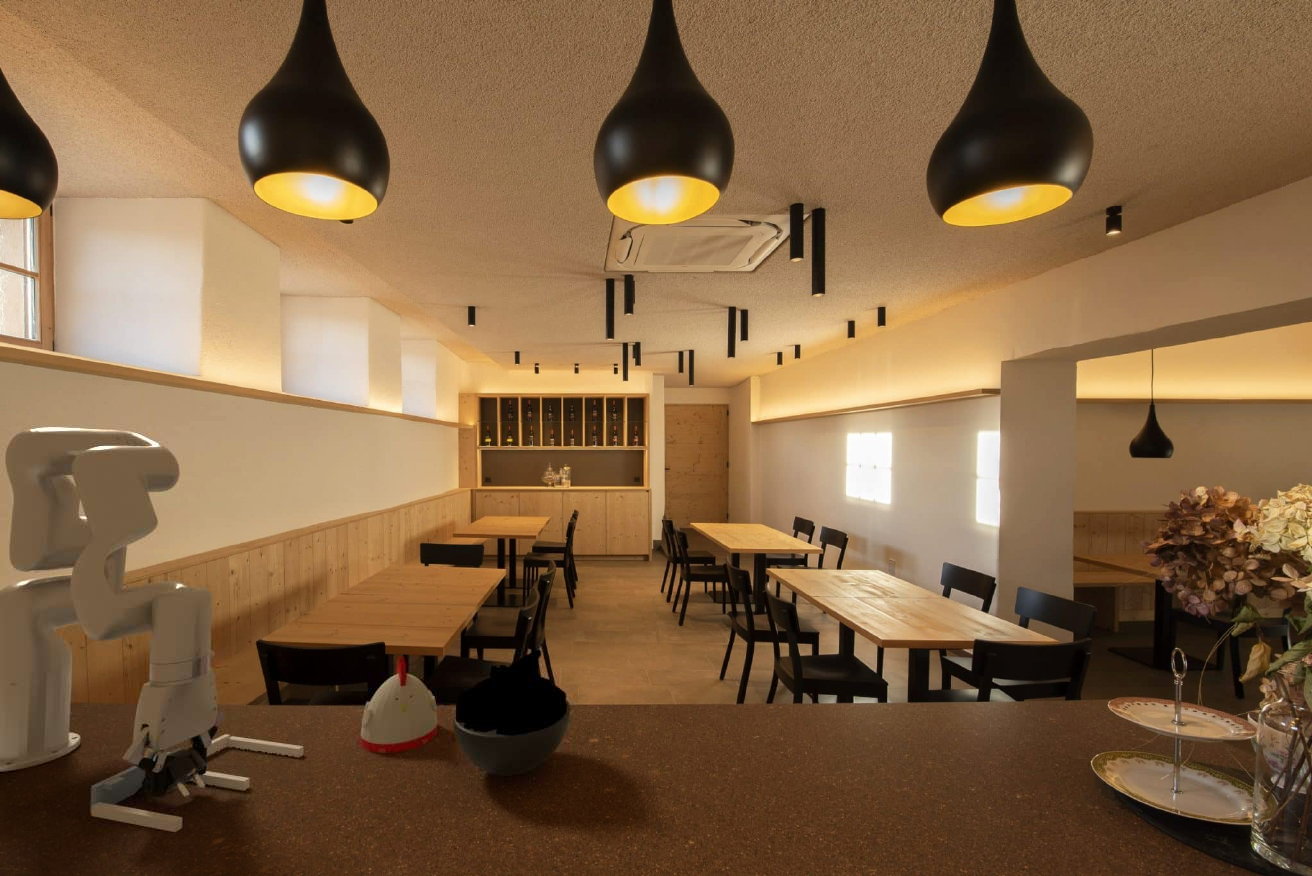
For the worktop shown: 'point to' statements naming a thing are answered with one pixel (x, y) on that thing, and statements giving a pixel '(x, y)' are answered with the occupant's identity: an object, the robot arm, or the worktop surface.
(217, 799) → the worktop surface
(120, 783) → the cable organizer
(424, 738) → the kitchen timer
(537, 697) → the coal bowl
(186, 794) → the power plug
